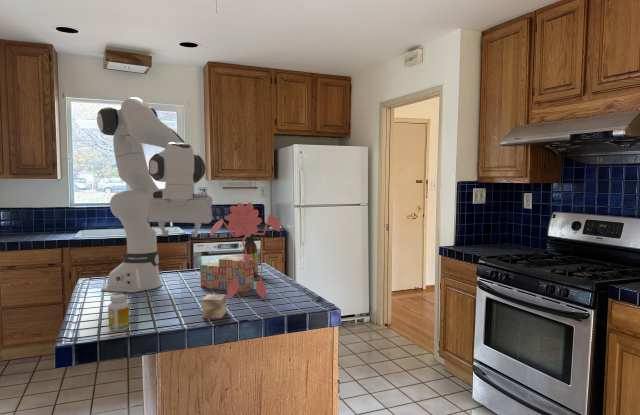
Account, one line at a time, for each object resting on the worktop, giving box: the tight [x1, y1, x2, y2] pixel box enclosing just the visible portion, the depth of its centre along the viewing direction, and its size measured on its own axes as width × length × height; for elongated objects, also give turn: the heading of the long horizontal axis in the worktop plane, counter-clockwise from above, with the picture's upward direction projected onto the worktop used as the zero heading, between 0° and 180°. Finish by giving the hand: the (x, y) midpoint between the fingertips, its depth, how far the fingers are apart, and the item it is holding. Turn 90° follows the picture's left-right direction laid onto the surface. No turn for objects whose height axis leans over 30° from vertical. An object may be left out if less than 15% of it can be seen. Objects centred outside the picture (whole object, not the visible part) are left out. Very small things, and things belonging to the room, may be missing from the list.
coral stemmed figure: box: [210, 202, 281, 308], centre depth 158 cm, size 15×26×35 cm, turn 86°
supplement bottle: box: [107, 293, 130, 332], centre depth 130 cm, size 5×5×10 cm
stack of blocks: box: [199, 256, 255, 293], centre depth 177 cm, size 21×6×12 cm, turn 66°
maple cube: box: [201, 294, 227, 319], centre depth 142 cm, size 6×6×6 cm
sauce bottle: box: [242, 234, 259, 277], centre depth 199 cm, size 6×6×20 cm
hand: (179, 236), depth 144 cm, fingers open, 8 cm apart
